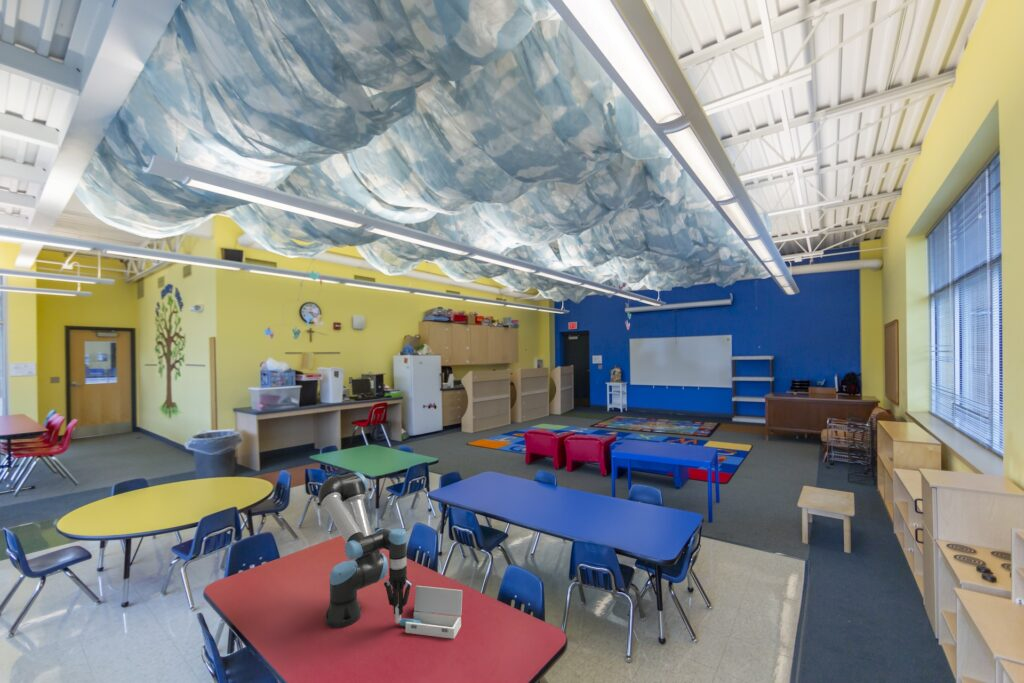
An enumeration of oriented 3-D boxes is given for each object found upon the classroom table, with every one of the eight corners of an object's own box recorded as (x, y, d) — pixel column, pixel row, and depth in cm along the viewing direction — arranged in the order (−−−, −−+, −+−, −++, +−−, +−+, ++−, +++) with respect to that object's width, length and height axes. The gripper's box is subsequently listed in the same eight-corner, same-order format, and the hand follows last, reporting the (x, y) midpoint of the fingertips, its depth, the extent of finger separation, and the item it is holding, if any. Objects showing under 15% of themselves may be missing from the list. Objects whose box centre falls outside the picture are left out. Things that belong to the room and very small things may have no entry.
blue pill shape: (398, 627, 190) (398, 620, 190) (401, 623, 193) (401, 616, 193) (419, 629, 188) (419, 622, 188) (422, 625, 191) (422, 618, 191)
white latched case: (404, 633, 185) (404, 623, 186) (414, 620, 195) (414, 611, 195) (453, 639, 181) (453, 629, 181) (461, 626, 190) (461, 616, 190)
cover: (415, 586, 197) (417, 585, 198) (414, 610, 195) (415, 609, 196) (461, 590, 192) (462, 589, 194) (460, 615, 190) (461, 614, 191)
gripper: (380, 569, 191) (380, 624, 189) (407, 571, 188) (408, 628, 186) (388, 561, 198) (389, 615, 196) (415, 563, 195) (415, 618, 194)
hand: (398, 621), depth 191 cm, fingers closed
